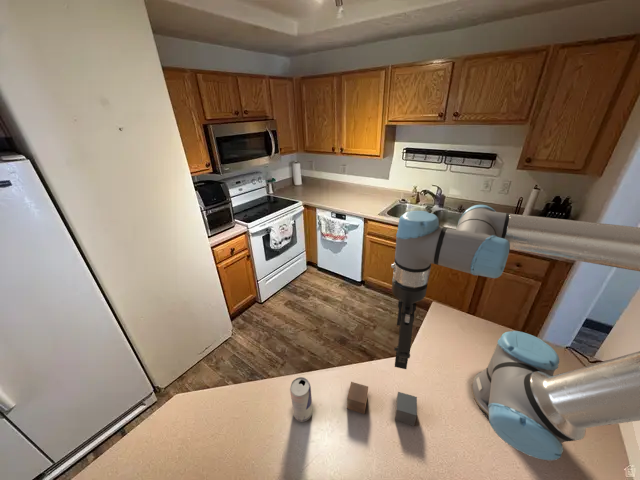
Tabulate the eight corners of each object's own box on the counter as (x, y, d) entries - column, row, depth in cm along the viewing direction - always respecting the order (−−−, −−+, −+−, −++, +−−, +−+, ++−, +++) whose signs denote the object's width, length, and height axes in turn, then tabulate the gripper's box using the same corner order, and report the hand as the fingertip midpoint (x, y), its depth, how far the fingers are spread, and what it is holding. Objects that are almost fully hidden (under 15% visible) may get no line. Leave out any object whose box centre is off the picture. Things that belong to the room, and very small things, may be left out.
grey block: (414, 407, 72) (416, 396, 70) (414, 426, 68) (416, 415, 66) (395, 401, 74) (397, 391, 72) (394, 419, 70) (396, 409, 67)
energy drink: (315, 406, 73) (313, 380, 68) (307, 425, 69) (304, 400, 63) (299, 399, 75) (296, 373, 70) (290, 417, 71) (285, 391, 66)
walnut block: (367, 396, 75) (368, 386, 73) (364, 414, 71) (365, 403, 69) (350, 391, 77) (351, 381, 74) (346, 408, 73) (347, 398, 70)
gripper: (395, 249, 69) (389, 309, 79) (389, 315, 48) (382, 384, 58) (424, 252, 67) (415, 313, 77) (432, 322, 46) (417, 393, 56)
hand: (401, 344), depth 68 cm, fingers open, 13 cm apart
